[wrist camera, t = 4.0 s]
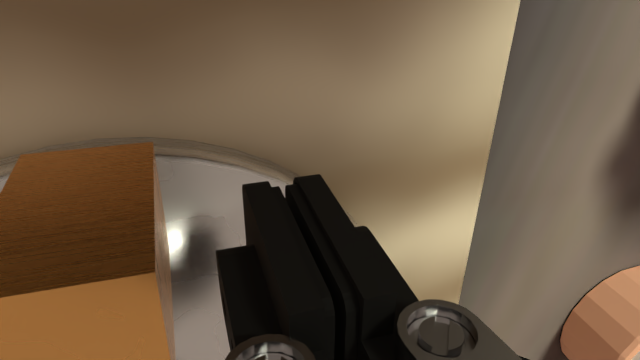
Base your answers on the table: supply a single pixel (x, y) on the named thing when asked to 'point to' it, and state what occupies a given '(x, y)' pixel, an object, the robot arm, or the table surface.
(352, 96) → the base board
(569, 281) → the table surface
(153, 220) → the flange
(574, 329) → the pepper shaker
